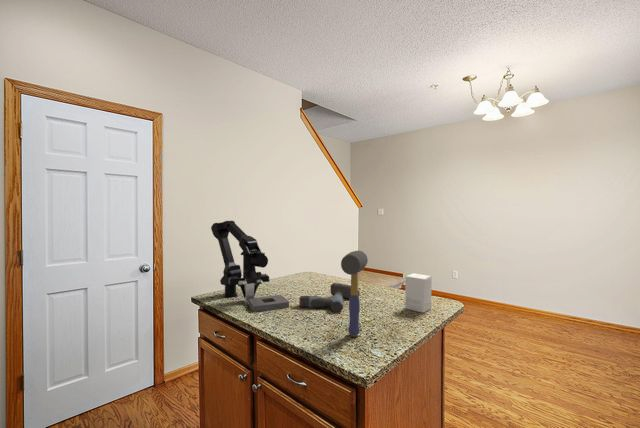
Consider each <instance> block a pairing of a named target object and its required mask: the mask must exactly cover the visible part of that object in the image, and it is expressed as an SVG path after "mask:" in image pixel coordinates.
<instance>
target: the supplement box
mask: <svg viewBox="0 0 640 428" xmlns="http://www.w3.org/2000/svg"><path fill="white" fill-rule="evenodd" d="M404 277H405V278H404V280H405V284H404V285H405V286H404V288H405V291H404V293H405V295H404V296H405V297H404V299H405V301H404V306H405V307H404V308H405V309H407V310H411V311H415V312H418V313H425V312H427V311H430V310H431V309H432V275H427V274H419V273H410V274H408V275H407V274H406V276H404Z"/></svg>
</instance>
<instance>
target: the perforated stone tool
mask: <svg viewBox="0 0 640 428" xmlns="http://www.w3.org/2000/svg"><path fill="white" fill-rule="evenodd" d="M329 291H330V294H331V296H334V294H335V293H336V292H340V293H342V297H343V299H350V295H351V284H350V285H349V284H345V283H339V282H333V283H332V284H330V289H329ZM360 294H361V293H360V289H358V296H359V297H360Z"/></svg>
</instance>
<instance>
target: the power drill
mask: <svg viewBox="0 0 640 428" xmlns="http://www.w3.org/2000/svg"><path fill="white" fill-rule="evenodd" d="M298 303H299V304H298V305H299V307H300V308H306V309H307V308H308V309H320V308H321V309H322V308H326V307H329V308H331V310H332V312H334V313H341V312H342V311H343V309H344V298H343V297H342V293H340V292H336V293H335V294H334V296H333V295H331V296H330V298H327V297H323V296H318V295H300V296H299V302H298Z"/></svg>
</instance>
